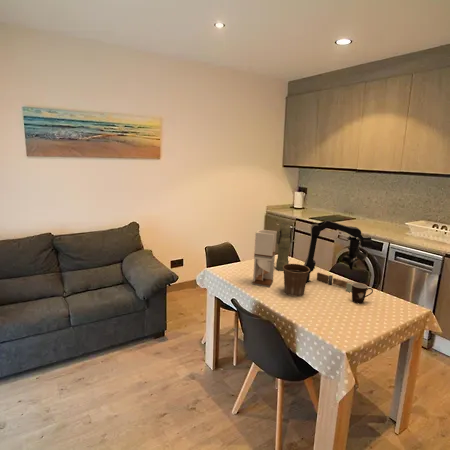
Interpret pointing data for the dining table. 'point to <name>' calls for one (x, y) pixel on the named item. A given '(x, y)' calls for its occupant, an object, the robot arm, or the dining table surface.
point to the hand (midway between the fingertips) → (351, 269)
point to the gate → (340, 282)
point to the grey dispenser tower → (264, 257)
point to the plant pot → (295, 279)
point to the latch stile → (349, 287)
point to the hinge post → (324, 278)
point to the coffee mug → (359, 292)
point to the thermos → (283, 245)
